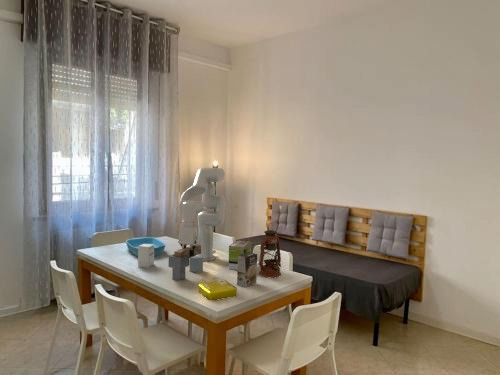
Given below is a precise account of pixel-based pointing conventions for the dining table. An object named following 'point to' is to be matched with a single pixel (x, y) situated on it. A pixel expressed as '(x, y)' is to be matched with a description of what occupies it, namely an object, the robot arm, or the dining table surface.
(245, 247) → the tea box
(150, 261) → the supplement box
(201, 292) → the element tile
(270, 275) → the lantern
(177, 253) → the rail
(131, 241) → the casserole dish
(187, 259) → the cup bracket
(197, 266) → the grey blue block
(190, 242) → the robot arm
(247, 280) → the coffee box
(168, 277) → the dining table surface
